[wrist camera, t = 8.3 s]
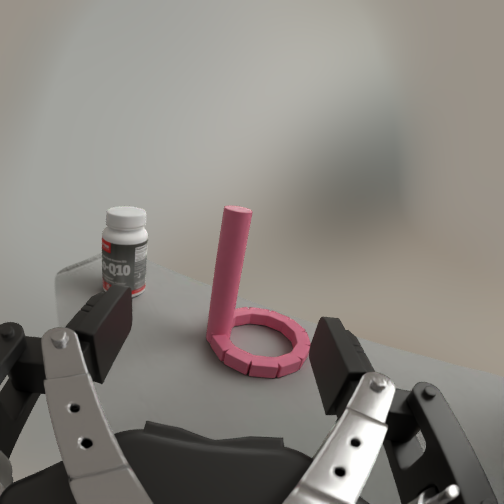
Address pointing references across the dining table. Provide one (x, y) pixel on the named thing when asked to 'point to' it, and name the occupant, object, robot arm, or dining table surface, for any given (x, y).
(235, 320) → the pink ring with post
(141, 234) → the pill bottle
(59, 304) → the dining table surface
